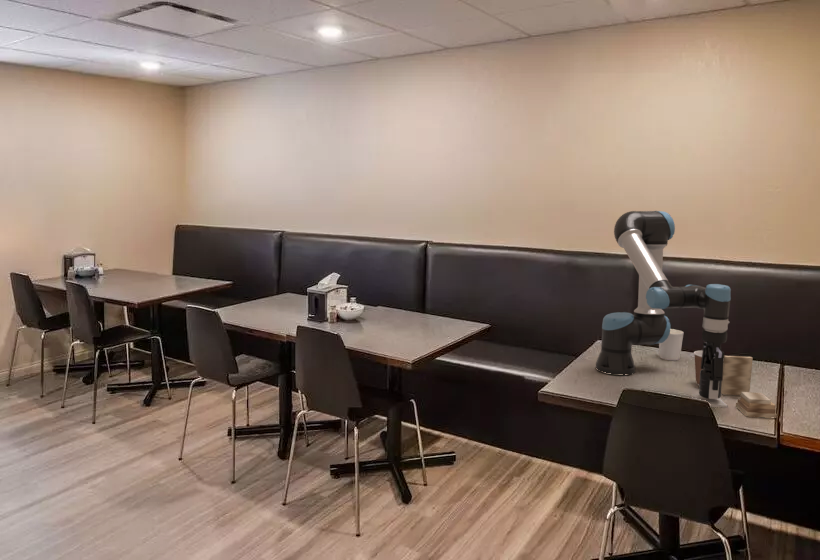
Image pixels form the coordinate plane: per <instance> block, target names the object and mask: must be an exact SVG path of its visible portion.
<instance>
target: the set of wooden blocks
mask: <svg viewBox="0 0 820 560" xmlns="http://www.w3.org/2000/svg"><path fill="white" fill-rule="evenodd" d="M752 369H753V357H752V356H741V355H740V356H739V355H724V359H723V380H722V387H721V395H727V396H728V395H729V396H740V399H737V402H735V408H736V407H737V408H738V409H739V410H740V411H739V410H738V409H737V408H736V409H737V410H738V411H739V412H740V413H741V414H743V415H744V416H745V417H746V416H749V417H748V418H758V417H765V418H764V419H772V418H771V417H774V418H776V419H777V416H778V414H777V413H776V404H775V403H773V402H772V400H771V399H770V398H769V397H767V396H766V395H765V394H763V392H751V391H750V390H751V380H752V371H753V370H752ZM774 418H773V419H774Z"/></svg>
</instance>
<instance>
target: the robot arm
mask: <svg viewBox="0 0 820 560" xmlns="http://www.w3.org/2000/svg"><path fill="white" fill-rule="evenodd" d="M613 228H614V229H613V235H614V239H615V241H616V242H617V244H618V247H620V248H622V249H623V250H624V251H625V253H626V254H627V256H628V258H629V260H630V262H631V263H632V264H633V266H634V268H635V270H636V272H637V274H638V297H637V298H638V299H637V307H636V308H635V309H634V310H633V313H631V312H627V311H623V312H619V311H617V312H616V311H615V312H610V313H608V314H606V315H605V316H604V317H603V319H602V325H601V345H600V347H601V348H600V352H599V355H598V357H597V359H596V362H595V369H596V368H597V369H598V370H600V371H603V372H606V373H611V374H623V375H622V376H626V375H625V374H631V375H633V374H635V373H634V372H636V365H635V362H634V358H633V354H632V346H636V345H637V346H638V345H639V346H640V345H655V344H658V345H659V343H663V342H664V341H665V340H666V339H667V338H668V336H669V334H670V329H672V328H671V322H670V319H669V318H668V316H666V314H665V311H664V309H685V308H686V309H690V308H691V309H692V308H694V309H696V308H697V309H699V310H700V309H701V310H703V318H702V319H703V320H702V328H703V329H702V334H701V340H702V341H703V342H702V351H703V353H702V361H701V369H704V362H705V361H711V379H709V380H710V387H709V399H718V391H719V381H722V380H723V361H724V356H725V352H724V351H722V350H723V349H722V344H725V343H726V342H727V340H728V332H727V331H728V326H729V324H730V321H729V318H730V317H729V316H730V306H731V299H732V297H731V291H732V289H731V287H730V286H729V285H727V284H726V285H725V284H720V283H710V284H707V285H705V286H706V287H704V286H701V285H698V284H697V285H696V284H686V285H685V286H672V285H671V283H670V282H669V279H668V278H667V277H666V275H665V273H664V272H663V263H664V262H663V259H664V258H663V257H664V248H666V247H667V246H668V242H669V241H670V240H671V239H673V237H674V235H675V232H676V225H675V222H674V219H673V217H672V216H671V215H670V214H669V212H666V211H661V210H632V211H627V212H625V213H623V214H622V215H620V216H619V217H618V219H617V220H616V221H615V224H614V227H613ZM598 370H597V371H598ZM600 371H599V372H600ZM606 373H605V374H606ZM632 373H633V374H632ZM611 374H610V375H611Z"/></svg>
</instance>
